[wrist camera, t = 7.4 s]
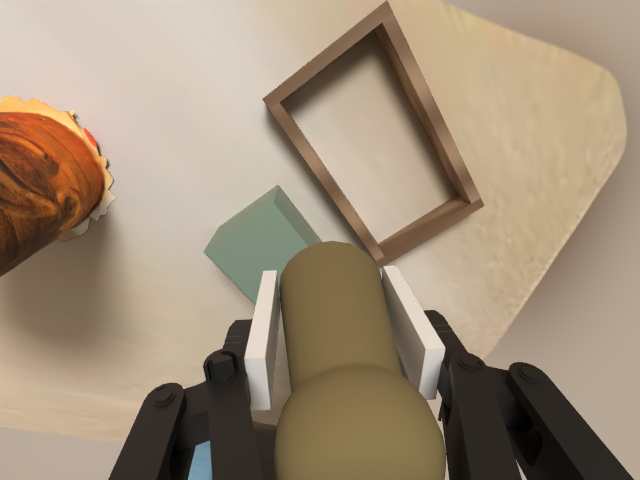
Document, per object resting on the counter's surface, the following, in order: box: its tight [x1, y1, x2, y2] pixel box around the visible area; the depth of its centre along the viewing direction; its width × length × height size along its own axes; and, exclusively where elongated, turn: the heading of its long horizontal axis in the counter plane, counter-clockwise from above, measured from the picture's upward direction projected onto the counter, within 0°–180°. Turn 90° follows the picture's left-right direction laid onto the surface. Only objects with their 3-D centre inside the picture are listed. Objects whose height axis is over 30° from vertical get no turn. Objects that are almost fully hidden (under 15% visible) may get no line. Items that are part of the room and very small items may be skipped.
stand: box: [204, 185, 322, 305], centre depth 31 cm, size 8×8×6 cm
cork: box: [273, 241, 446, 480], centre depth 13 cm, size 6×6×11 cm
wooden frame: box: [263, 1, 484, 268], centre depth 30 cm, size 20×12×3 cm, turn 35°
